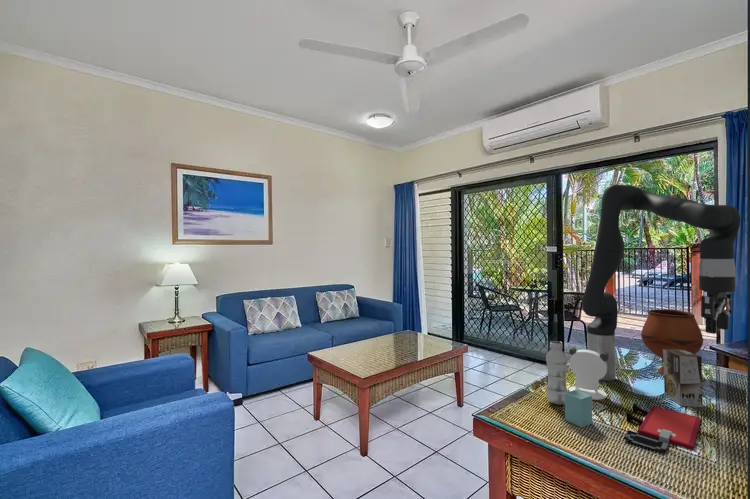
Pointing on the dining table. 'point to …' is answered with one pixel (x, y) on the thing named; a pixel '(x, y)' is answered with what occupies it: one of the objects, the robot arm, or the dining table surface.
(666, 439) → the red board with handle
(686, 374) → the coffee box
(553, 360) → the plastic bottle
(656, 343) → the terracotta clay pot
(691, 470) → the dining table surface
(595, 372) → the white round-based fixture
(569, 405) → the teal block
